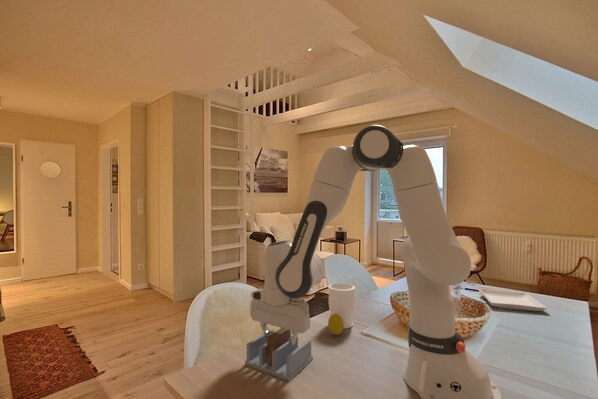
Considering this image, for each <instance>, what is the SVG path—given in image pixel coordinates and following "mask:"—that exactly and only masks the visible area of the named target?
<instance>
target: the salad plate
mask: <svg viewBox="0 0 598 399" xmlns="http://www.w3.org/2000/svg"><path fill="white" fill-rule="evenodd" d="M478 293H479V294H481V295H482V297H484V299H486V300H487V301H488V302H489V304H490V305H491V306H493V307H496V308H498V309H504V310H505V309H507V310H515V311H516V310H517V311H525V312H526V311H527V312H528V311H529V312H541V311H544V310H545V311H546V309H547V306H546V305H544V304H543V303H541V302H540V301H538V300H537V299H536V298H534V297H532V296H531V295H530V294H528V293H525V292H516V291H515V292H513V291H503V290H491V289H490V290H487V289H478Z"/></svg>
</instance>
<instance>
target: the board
mask: <svg viewBox="0 0 598 399" xmlns="http://www.w3.org/2000/svg"><path fill="white" fill-rule="evenodd" d="M291 335H292V333H291V330H288V329H284V328H279V329H277V330H276V331H274V333H273V334H271V335H269V336H268V337H267V365H270V366H272V352H273V351H275V350H276V349H277V348H279V347H280V346H282V345H283V344H285V343H286V342H287V341H289V338H291Z"/></svg>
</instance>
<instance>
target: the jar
mask: <svg viewBox="0 0 598 399" xmlns="http://www.w3.org/2000/svg"><path fill="white" fill-rule="evenodd" d="M328 290H329V294H328V308H329V315H330V316H331V315H333V314H335V313H336V314H338V315H340V316H341V317H342V320H343V325H344V326H343V330H344V329H345V330H346V329H351V328H352V327H353V326H354V322H353V320H354V318H355V317H354V316H355V310H356V304H357V303H356V293H355V291H356V286H355V285H354V284H350V283H343V282H342V283H341V282H338V283H337V282H336V283H331V284H329V285H328Z"/></svg>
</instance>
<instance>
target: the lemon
mask: <svg viewBox="0 0 598 399" xmlns="http://www.w3.org/2000/svg"><path fill="white" fill-rule="evenodd" d="M327 326H328V330H329V332H330V333H331V334H332V335H334V336H338V335H340V334H341V333H342V331H343V330H344V329H343V326H344V325H343V320H342V317H341V316H340V315H338V314H336V313H335V314H333V315H330V316H329V318H328V321H327Z"/></svg>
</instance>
